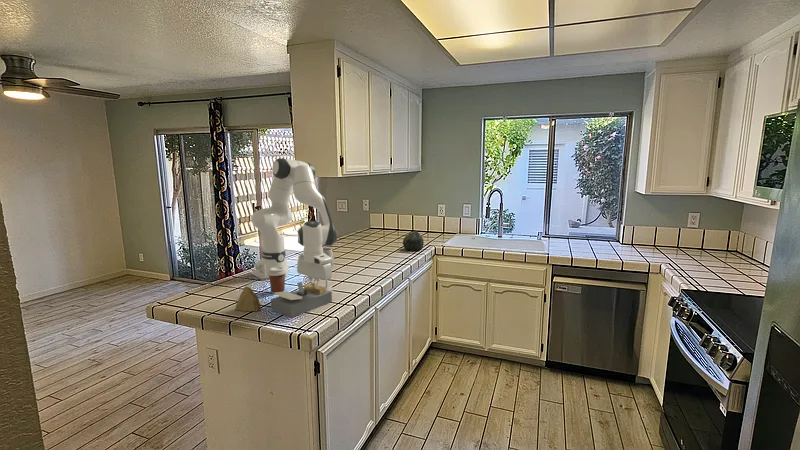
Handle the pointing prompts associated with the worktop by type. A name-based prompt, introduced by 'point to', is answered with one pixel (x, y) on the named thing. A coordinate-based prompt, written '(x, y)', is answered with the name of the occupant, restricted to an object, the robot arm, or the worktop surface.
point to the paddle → (300, 288)
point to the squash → (413, 241)
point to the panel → (300, 303)
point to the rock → (248, 301)
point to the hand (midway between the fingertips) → (314, 285)
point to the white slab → (288, 295)
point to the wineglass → (329, 252)
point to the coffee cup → (277, 279)
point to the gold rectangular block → (314, 288)
